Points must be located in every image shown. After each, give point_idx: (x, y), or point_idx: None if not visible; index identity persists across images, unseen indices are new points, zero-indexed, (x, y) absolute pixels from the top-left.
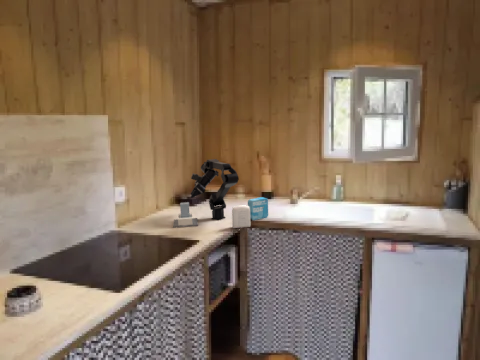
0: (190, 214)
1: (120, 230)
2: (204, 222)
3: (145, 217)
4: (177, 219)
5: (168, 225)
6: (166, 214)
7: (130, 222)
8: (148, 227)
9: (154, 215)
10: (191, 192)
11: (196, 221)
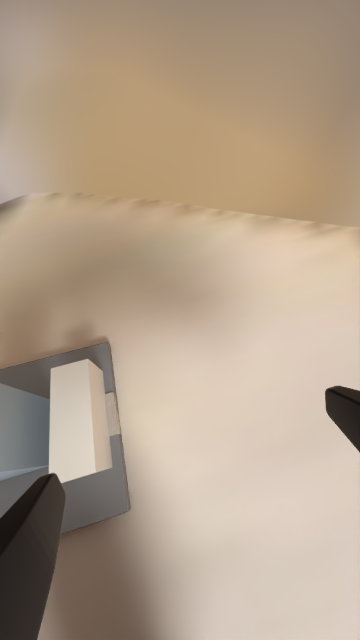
0: (50, 470)
1: (13, 207)
2: None
3: (185, 215)
4: (104, 362)
5: (22, 344)
6: (246, 270)
7: (113, 198)
8: (19, 271)
9: (220, 232)
10: (357, 405)
11: None
